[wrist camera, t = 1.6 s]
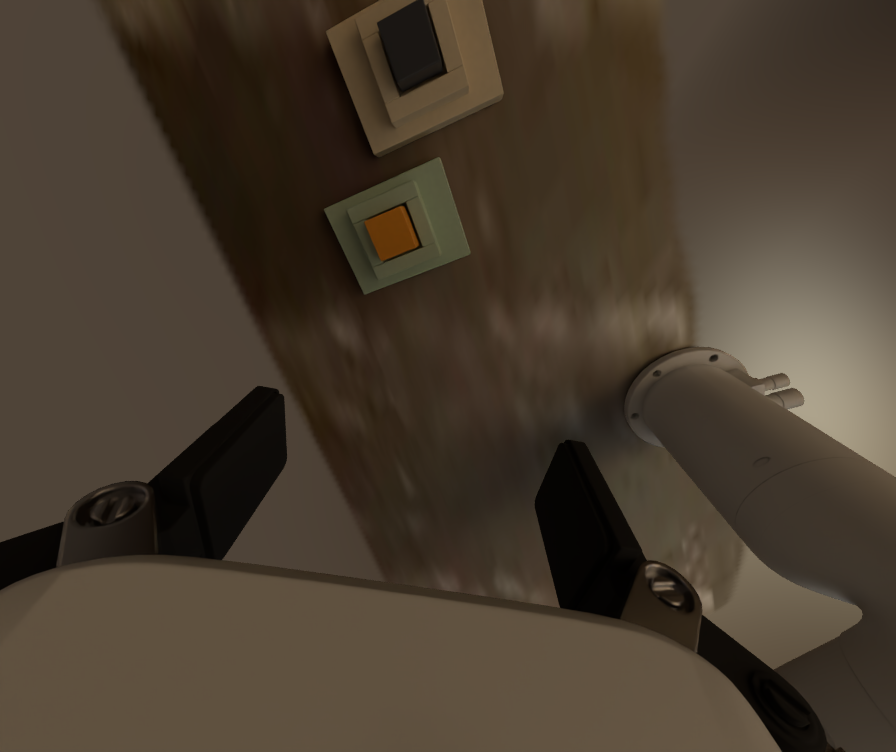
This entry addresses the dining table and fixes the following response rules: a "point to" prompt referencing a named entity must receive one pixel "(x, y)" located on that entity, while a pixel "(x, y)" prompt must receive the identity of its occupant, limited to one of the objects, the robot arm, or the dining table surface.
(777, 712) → the robot arm
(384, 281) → the key block
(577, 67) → the dining table surface
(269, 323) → the dining table surface
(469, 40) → the key block
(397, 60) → the key
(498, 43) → the dining table surface
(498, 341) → the dining table surface
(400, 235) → the key
